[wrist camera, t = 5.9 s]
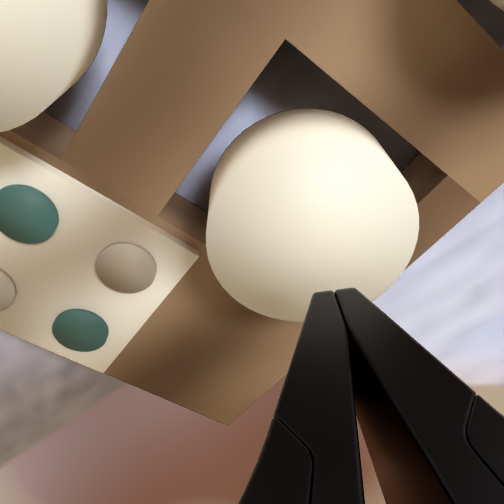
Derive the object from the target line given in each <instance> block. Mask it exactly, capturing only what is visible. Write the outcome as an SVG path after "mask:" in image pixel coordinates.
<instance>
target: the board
mask: <svg viewBox="0 0 504 504" xmlns="http://www.w3.org/2000/svg"><path fill="white" fill-rule="evenodd" d="M285 39H286V40H287V41H289V42H290V43H291V44H292V45H293V46H295V47H296V48H297V49H298V50H299V51H300V52H302V53H303V54H304V55H305V56H306V57H308V58H309V59H310V60H311V61H312V62H314V63H315V64H316V65H317V66H318V67H320V68H321V69H322V70H323V71H324V72H326V73H327V74H328V75H329V76H330V77H331V78H333V79H334V80H335V81H336V82H337V83H339V84H340V85H341V86H342V87H343V88H345V89H346V90H347V91H348V92H349V93H351V94H352V95H353V96H354V97H355V98H356V99H358V100H359V101H360V102H361V103H362V104H364V105H365V106H366V107H367V108H368V109H370V110H371V111H372V112H373V113H374V114H376V115H377V116H378V117H379V118H380V119H382V120H383V121H384V122H385V123H386V124H387V125H389V126H390V127H391V128H392V129H393V130H395V131H396V132H397V133H398V134H399V135H401V136H402V137H403V138H404V139H405V140H407V141H408V142H409V143H410V144H411V145H413V146H414V147H415V148H416V149H417V150H418V151H420V152H421V153H420V154H419V155H418V156H417V157H416V158H415V159H414V160H413V161H412V162H411V163H410V164H409V165H408V166H407V167H406V168H405V169H404V170H403V171H402V172H401V174H402V176H403V177H404V178H405V180H406V181H407V183H408V185H409V186H410V188H411V190H412V192H413V194H414V197H415V200H416V203H417V207H418V213H419V232H418V239H417V243H416V246H415V250H414V252H413V255H412V257H411V259H410V261H409V263H408V265H407V266H406V268H407V267H408V266H410V265H411V264H412V263H413V262H414V261H415V260H416V259H418V258H419V257H420V256H421V255H422V254H423V253H424V252H425V251H427V250H428V249H429V248H430V247H431V246H432V245H433V244H434V243H436V242H437V241H438V240H439V239H440V238H441V237H442V236H444V235H445V234H446V233H447V232H448V231H449V230H450V229H451V228H453V227H454V226H455V225H456V224H457V223H458V222H459V221H461V220H462V219H463V218H464V217H465V216H466V215H467V214H468V213H470V212H471V211H472V210H473V209H474V208H475V207H476V206H478V205H479V204H480V203H481V202H482V201H483V200H484V199H485V198H487V197H488V196H489V195H490V194H491V193H492V192H493V191H495V190H496V189H497V188H498V187H499V186H500V185H501V184H502V183H504V50H503V49H502V48H501V47H500V46H499V45H498V44H497V43H496V42H495V41H494V40H493V38H492V37H491V36H490V35H489V34H488V33H487V32H486V31H485V30H484V29H483V28H482V27H481V26H480V25H479V24H478V23H477V22H476V20H475V19H474V18H473V17H472V16H471V15H470V14H469V13H468V12H467V11H466V10H465V9H464V8H463V7H462V6H461V5H460V4H459V2H458V1H457V0H149V1H148V3H147V5H146V7H145V9H144V10H143V12H142V14H141V16H140V18H139V19H138V21H137V23H136V25H135V27H134V28H133V30H132V32H131V34H130V36H129V38H128V39H127V41H126V43H125V45H124V47H123V48H122V50H121V52H120V54H119V56H118V57H117V59H116V61H115V63H114V65H113V66H112V68H111V70H110V72H109V74H108V76H107V77H106V79H105V81H104V83H103V85H102V86H101V88H100V90H99V92H98V94H97V95H96V97H95V99H94V101H93V103H92V104H91V106H90V108H89V110H88V112H87V114H86V115H85V117H84V119H83V121H82V123H81V124H80V126H79V128H78V130H77V132H76V131H75V130H73V129H71V128H70V127H68V126H67V125H65V124H63V123H62V122H60V121H58V120H57V119H55V118H54V117H52V116H50V115H49V114H47V113H45V112H44V111H43V112H41V113H40V114H39V115H38V116H37V117H35V118H34V119H32V120H30V121H28V122H27V123H25V124H23V125H21V126H18V127H16V128H13V129H11V130H8V131H3V132H0V330H2V331H4V332H6V333H9V334H11V335H14V336H16V337H18V338H21V339H23V340H25V341H28V342H30V343H32V344H35V345H37V346H39V347H42V348H44V349H46V350H49V351H51V352H54V353H56V354H58V355H61V356H63V357H65V358H68V359H70V360H72V361H75V362H77V363H79V364H82V365H84V366H86V367H89V368H91V369H93V370H96V371H98V372H101V373H105V374H108V375H110V376H112V377H115V378H117V379H119V380H122V381H124V382H126V383H129V384H131V385H134V386H136V387H138V388H141V389H143V390H145V391H148V392H150V393H152V394H155V395H157V396H159V397H162V398H164V399H166V400H169V401H171V402H173V403H176V404H178V405H180V406H183V407H185V408H187V409H190V410H192V411H194V412H197V413H199V414H202V415H204V416H206V417H209V418H211V419H213V420H216V421H218V422H220V423H223V424H225V425H227V426H228V425H229V424H231V423H232V422H233V421H234V420H235V419H236V418H237V417H239V416H240V415H241V414H242V413H243V412H244V411H245V410H246V409H248V408H249V407H250V406H251V405H252V404H253V403H254V402H256V401H257V400H258V399H259V398H260V397H261V396H262V395H263V394H265V393H266V392H267V391H268V390H269V389H270V388H271V387H272V386H274V385H275V384H276V383H277V382H278V381H279V380H280V379H281V378H283V377H284V376H285V375H286V374H287V373H288V370H289V367H290V363H291V360H292V357H293V354H294V351H295V348H296V345H297V342H298V339H299V335H300V332H301V329H302V326H303V323H304V322H294V321H285V320H279V319H275V318H270V317H268V316H265V315H262V314H259V313H257V312H255V311H253V310H250V309H248V308H247V307H245V306H244V305H242V304H241V303H239V302H238V301H237V300H235V299H234V298H233V297H232V296H230V294H229V293H228V292H227V291H226V290H225V289H224V288H223V287H222V285H221V284H220V283H219V281H218V280H217V278H216V276H215V274H214V272H213V270H212V268H211V266H210V263H209V260H208V256H207V249H206V228H207V218H208V212H206V211H204V210H203V209H201V208H200V207H198V206H196V205H195V204H193V203H191V202H190V201H188V200H187V199H185V198H183V197H182V196H180V195H178V194H177V193H175V191H176V190H177V188H178V187H179V185H180V184H181V183H182V181H183V180H184V179H185V177H186V176H187V174H188V173H189V172H190V170H191V169H192V167H193V166H194V165H195V163H196V162H197V161H198V159H199V158H200V156H201V155H202V154H203V152H204V151H205V149H206V148H207V147H208V145H209V144H210V143H211V141H212V140H213V138H214V137H215V136H216V134H217V133H218V131H219V130H220V129H221V127H222V126H223V125H224V123H225V122H226V120H227V119H228V118H229V116H230V115H231V113H232V112H233V111H234V109H235V108H236V107H237V105H238V104H239V102H240V101H241V100H242V98H243V97H244V95H245V94H246V93H247V91H248V90H249V89H250V87H251V86H252V84H253V83H254V82H255V80H256V79H257V77H258V76H259V75H260V73H261V72H262V71H263V69H264V68H265V66H266V65H267V64H268V62H269V61H270V59H271V58H272V57H273V55H274V54H275V53H276V51H277V50H278V48H279V47H280V46H281V44H282V43H283V41H284V40H285ZM406 268H405V269H406ZM405 269H404V270H405Z"/></svg>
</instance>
